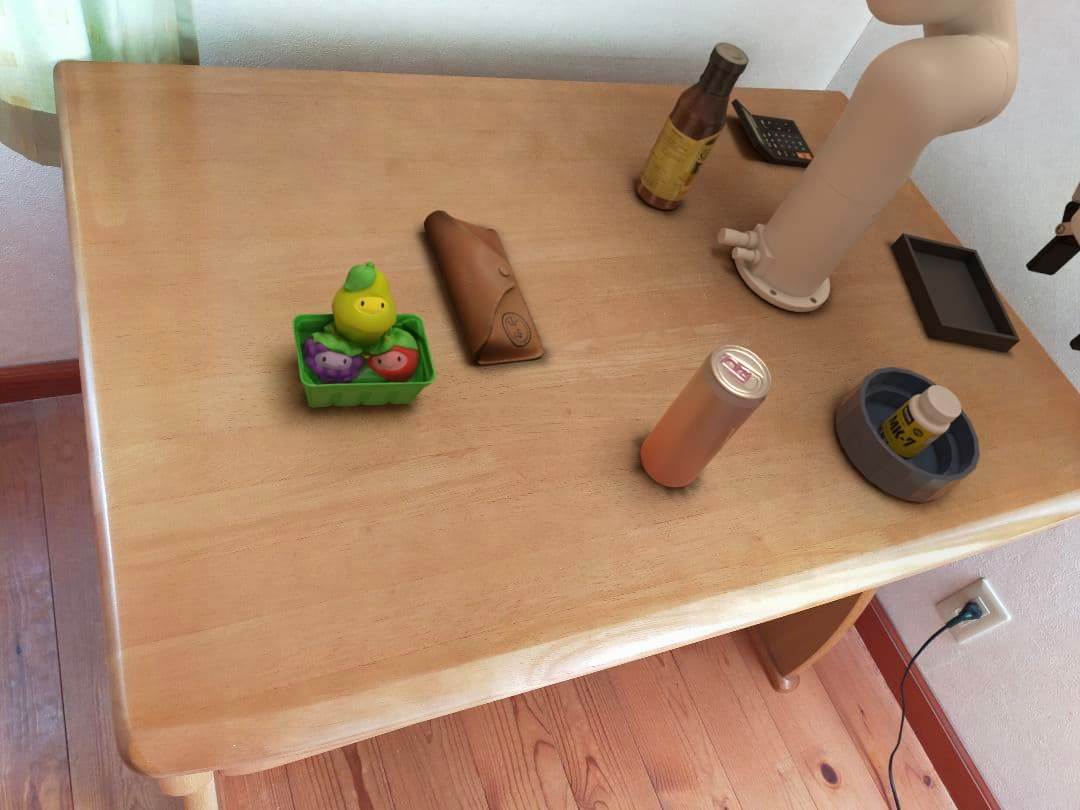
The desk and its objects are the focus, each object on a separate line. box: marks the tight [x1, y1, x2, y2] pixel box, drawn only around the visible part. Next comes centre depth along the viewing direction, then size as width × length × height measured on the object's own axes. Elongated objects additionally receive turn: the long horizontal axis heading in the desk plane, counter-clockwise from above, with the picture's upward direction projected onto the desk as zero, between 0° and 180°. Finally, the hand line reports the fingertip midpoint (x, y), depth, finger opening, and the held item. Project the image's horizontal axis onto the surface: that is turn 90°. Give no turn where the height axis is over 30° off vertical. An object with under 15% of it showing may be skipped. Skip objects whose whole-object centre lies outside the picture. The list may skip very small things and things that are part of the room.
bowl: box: [835, 366, 981, 503], centre depth 94 cm, size 14×14×5 cm
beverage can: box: [640, 344, 772, 488], centre depth 79 cm, size 6×6×15 cm
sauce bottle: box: [635, 41, 750, 211], centre depth 102 cm, size 7×6×20 cm
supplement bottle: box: [877, 384, 962, 461], centre depth 93 cm, size 5×5×8 cm
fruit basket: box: [291, 261, 437, 409], centre depth 75 cm, size 11×9×11 cm
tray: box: [891, 232, 1021, 353], centre depth 115 cm, size 16×12×2 cm
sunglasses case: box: [423, 209, 545, 366], centre depth 89 cm, size 18×7×7 cm, turn 21°
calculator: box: [731, 98, 815, 169], centre depth 124 cm, size 9×12×3 cm
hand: (1059, 308), depth 82 cm, fingers open, 9 cm apart
